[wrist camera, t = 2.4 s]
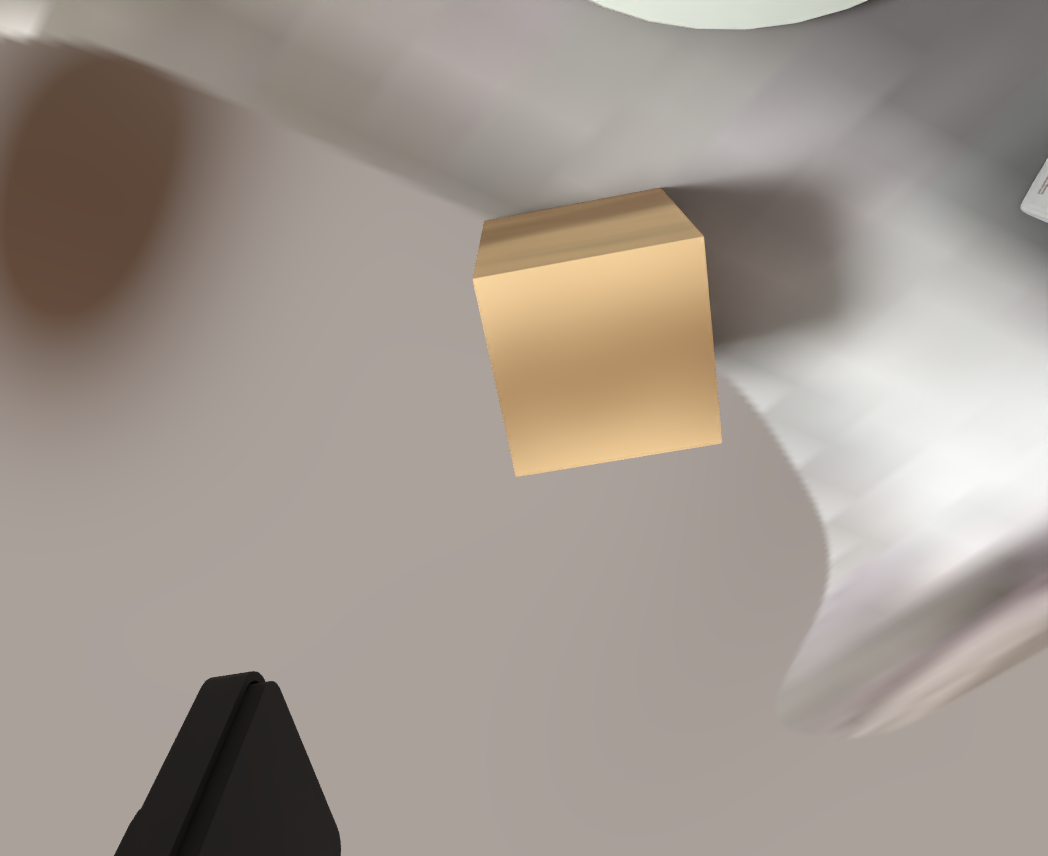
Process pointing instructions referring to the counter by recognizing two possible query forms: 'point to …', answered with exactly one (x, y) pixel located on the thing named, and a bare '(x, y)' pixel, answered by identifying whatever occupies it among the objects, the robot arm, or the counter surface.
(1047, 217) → the supplement box
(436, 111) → the counter surface
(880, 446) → the counter surface
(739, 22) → the dish
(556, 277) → the block
